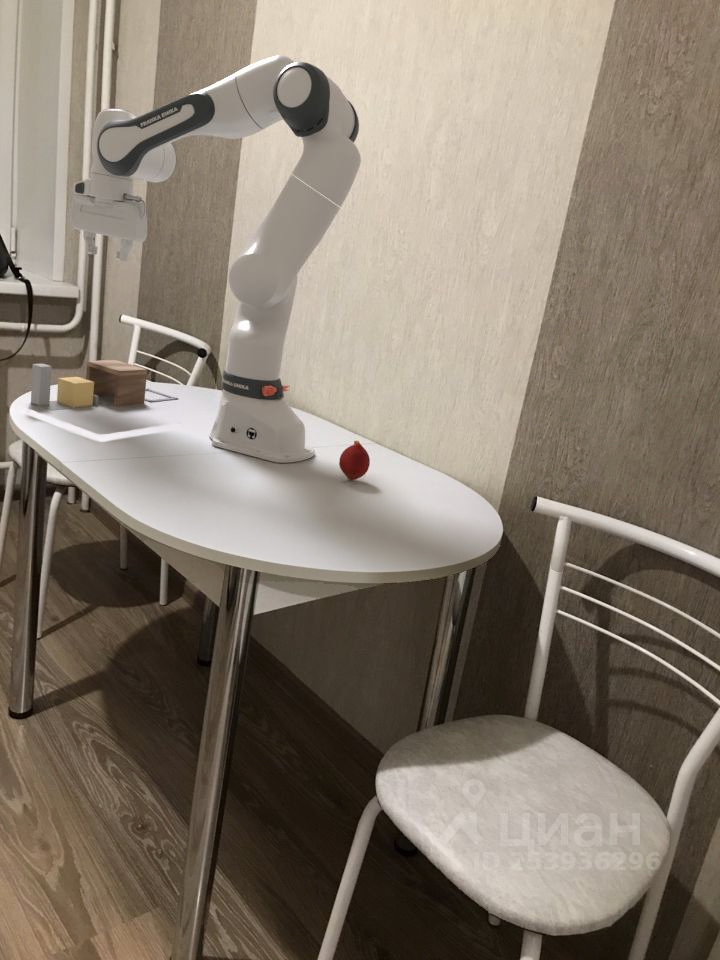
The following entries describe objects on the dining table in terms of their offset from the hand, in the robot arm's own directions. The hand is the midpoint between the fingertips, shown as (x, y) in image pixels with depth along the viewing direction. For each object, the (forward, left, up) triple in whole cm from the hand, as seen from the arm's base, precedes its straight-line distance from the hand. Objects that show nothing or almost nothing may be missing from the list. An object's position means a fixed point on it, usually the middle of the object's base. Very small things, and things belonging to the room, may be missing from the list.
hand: (106, 257), depth 164 cm
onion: (-70, 0, -31) cm, 77 cm away
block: (-9, +14, -30) cm, 34 cm away
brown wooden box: (-9, +3, -31) cm, 33 cm away
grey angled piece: (-9, +15, -31) cm, 35 cm away
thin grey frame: (-9, -8, -31) cm, 33 cm away
